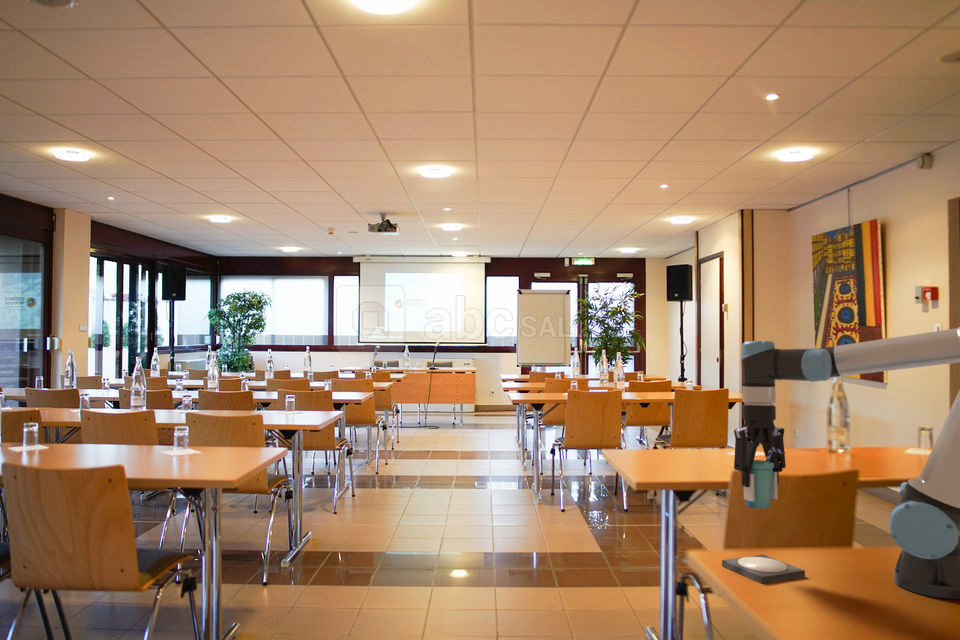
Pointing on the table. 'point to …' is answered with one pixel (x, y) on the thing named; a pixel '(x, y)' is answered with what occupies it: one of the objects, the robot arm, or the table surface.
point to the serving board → (763, 568)
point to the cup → (762, 481)
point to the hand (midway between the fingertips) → (760, 499)
